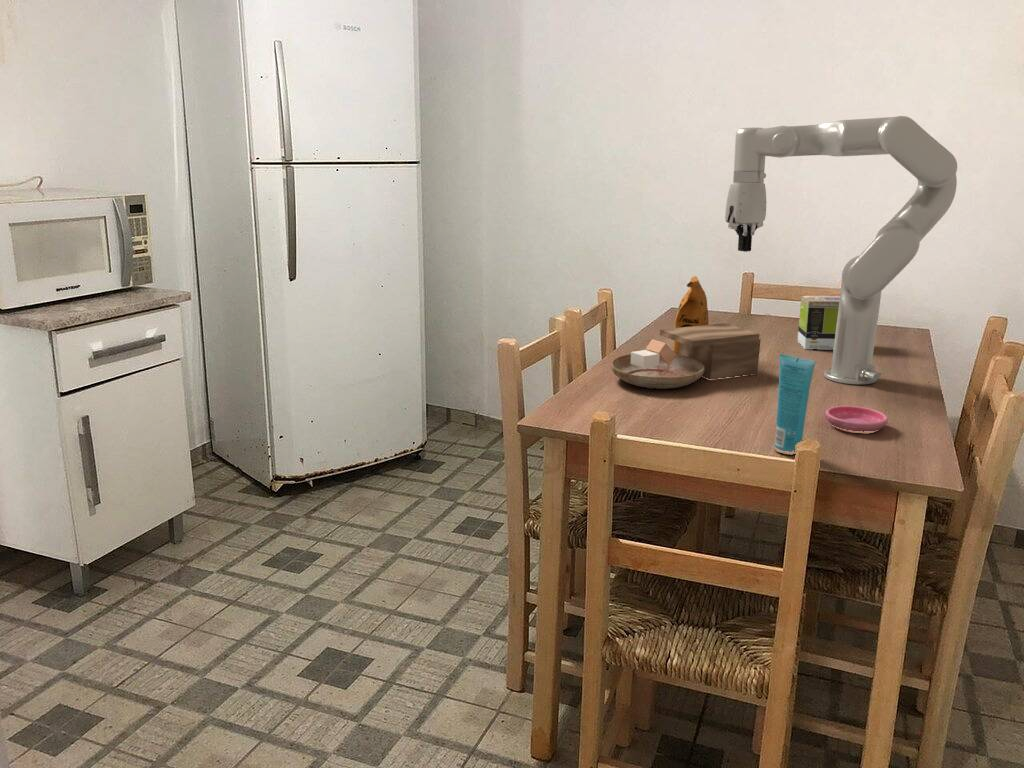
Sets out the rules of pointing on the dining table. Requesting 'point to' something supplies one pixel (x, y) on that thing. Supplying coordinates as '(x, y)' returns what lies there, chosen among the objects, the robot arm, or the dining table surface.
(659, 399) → the dining table surface
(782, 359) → the tube
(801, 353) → the dining table surface
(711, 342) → the wooden box
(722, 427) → the dining table surface
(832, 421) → the saucer
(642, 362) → the white square block
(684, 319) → the coffee package
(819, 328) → the tea box
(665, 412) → the dining table surface
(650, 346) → the peach clay cube
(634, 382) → the ceramic bowl
